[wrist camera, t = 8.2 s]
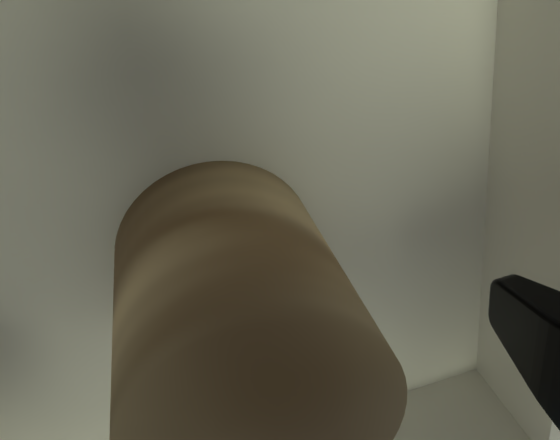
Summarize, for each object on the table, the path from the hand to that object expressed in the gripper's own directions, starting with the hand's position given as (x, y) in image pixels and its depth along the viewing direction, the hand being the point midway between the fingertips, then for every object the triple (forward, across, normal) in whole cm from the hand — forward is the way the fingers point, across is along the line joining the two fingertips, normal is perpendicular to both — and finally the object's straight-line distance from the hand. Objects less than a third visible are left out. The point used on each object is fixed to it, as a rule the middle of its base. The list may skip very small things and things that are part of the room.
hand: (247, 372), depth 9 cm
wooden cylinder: (+4, 0, 0) cm, 4 cm away
